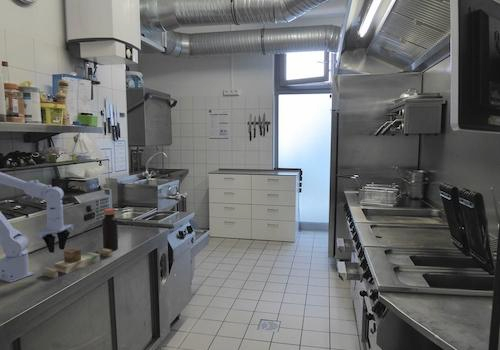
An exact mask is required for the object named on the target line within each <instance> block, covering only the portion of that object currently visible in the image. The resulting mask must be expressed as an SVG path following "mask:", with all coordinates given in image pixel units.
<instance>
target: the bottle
mask: <svg viewBox="0 0 500 350" xmlns="http://www.w3.org/2000/svg"><path fill="white" fill-rule="evenodd" d="M115 214H116V209H115V208H105V209H103V215H104V217H103V219H102V221H101V223H102V246H103V247H102V248H105V249H110V250H112V252H114V251H117V250H118V248H119V237H118V235H119V234H118V233H119V232H118V218H117V217H116V216H115Z"/></svg>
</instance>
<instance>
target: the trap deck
mask: <svg viewBox="0 0 500 350" xmlns="http://www.w3.org/2000/svg"><path fill="white" fill-rule="evenodd" d="M112 257H113V251H112V250H110V249H105V248H103V247H100V248H97V253H96V252H90V251H88V252H85V253H82V254H81V260H79V261H77V262H74V263H69V262H64V260H62V261H58V262H55V263H53V264H54V265H53V267H54V268H53V267H49V266H44V267H42V276H45V277H49V278H53V279H55V278H59V277H62V276H64V275H67V274H70V273H72V272H75V271H77V270H79V269H83V268H85V267H87V266H91V265H93V264H96V263H99V262H101V261H103V260H106V259H108V258H112Z"/></svg>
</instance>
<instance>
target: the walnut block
mask: <svg viewBox="0 0 500 350" xmlns="http://www.w3.org/2000/svg"><path fill="white" fill-rule="evenodd" d="M81 251H82V250H81V249H79V248H75V247H72V248H70V249H67V250H66V249H65V250H63V261H64V262H69V263H74V262H77V261H79V260H81V253H82V252H81Z"/></svg>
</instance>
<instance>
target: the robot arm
mask: <svg viewBox="0 0 500 350" xmlns="http://www.w3.org/2000/svg"><path fill="white" fill-rule="evenodd" d="M0 184H1V185H4V186H8V187H12V188H15V189H20V190H23V192H24V193H25V194H26V195H28V196H30V197H33V198H37V199H41V200H44V202H45V203H46V225H47V226H46V227H47V228H46V229H45V228H44V229H43V230H40V231H36V238H39V239H42V240H43V241H44V243H45V245H46V247H47V249H48V253H51V254H52V253H55V241H56V237H57V240H58V241H57V242H58V248H59V250H62V251H64V250H65V246H66V243H67V240H68V237H69V236H70V234H71V232H70V230H74V224H70V223H69V224H65V223H64V206H63V198H64V195H65V192H64V190H63V188H61V187H59V186H52V185H51V184H45V183H41V182H40V180H38V179H34V180H33V179H32V180H29V181H25V180H23V179H20V178H18V177H15V176H12V175H9V174H6V173H4V172H2V171H0ZM55 234H56V236H55ZM0 246H1V247H2V251H3V253H4V255H5V256H4V257H2V258H0V281H5V282H7V283H13V282H15V281H19V280H21V279H24V278H28V277H29V276H33V275H35V272H32V271H30V268H29V266H30V265H29V264H30V263H29V251H28V249H27V248H28V247H29V246H30V238H29V237H28V236H27V235H25V234H23V233H21V230H18V229H15V228H14V227H13V225H12V224H11V223H10V222H9V220H8V219H7V217H6V216H4V214H3V213H2V211H1V210H0Z"/></svg>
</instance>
